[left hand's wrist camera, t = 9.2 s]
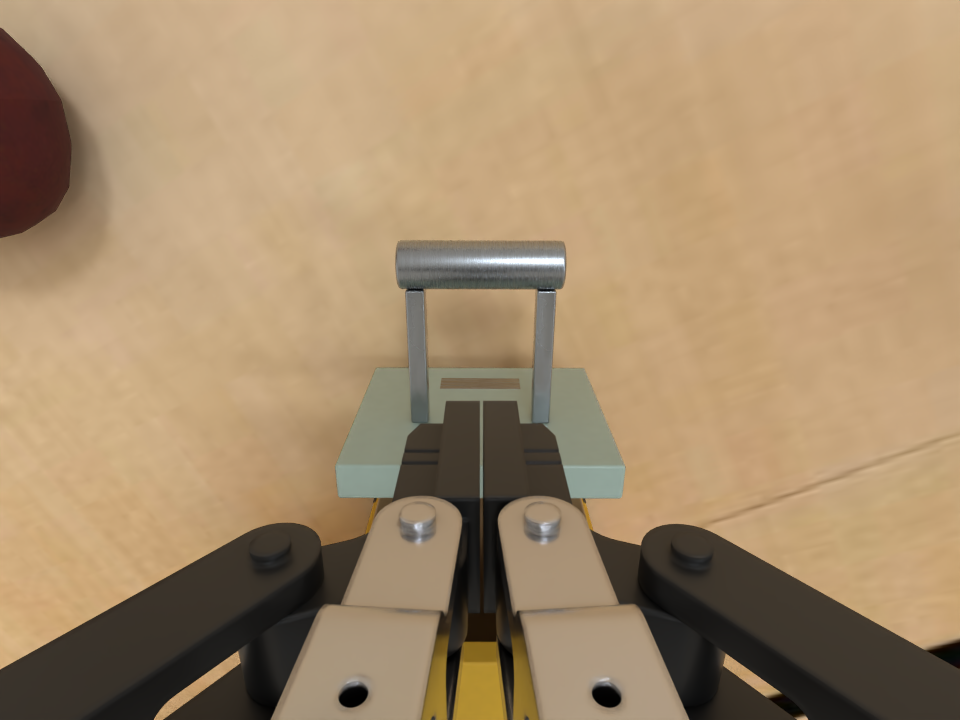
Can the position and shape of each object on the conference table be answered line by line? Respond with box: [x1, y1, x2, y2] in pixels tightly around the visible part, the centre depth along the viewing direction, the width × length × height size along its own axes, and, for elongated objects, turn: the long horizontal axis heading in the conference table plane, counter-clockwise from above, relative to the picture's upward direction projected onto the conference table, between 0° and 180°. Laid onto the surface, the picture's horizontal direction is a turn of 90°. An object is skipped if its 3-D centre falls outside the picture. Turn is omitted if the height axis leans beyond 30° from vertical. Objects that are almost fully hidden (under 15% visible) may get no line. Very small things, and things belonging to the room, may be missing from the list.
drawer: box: [335, 240, 625, 642], centre depth 23 cm, size 23×9×8 cm, turn 0°
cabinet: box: [365, 498, 593, 720], centre depth 27 cm, size 18×10×9 cm, turn 0°
